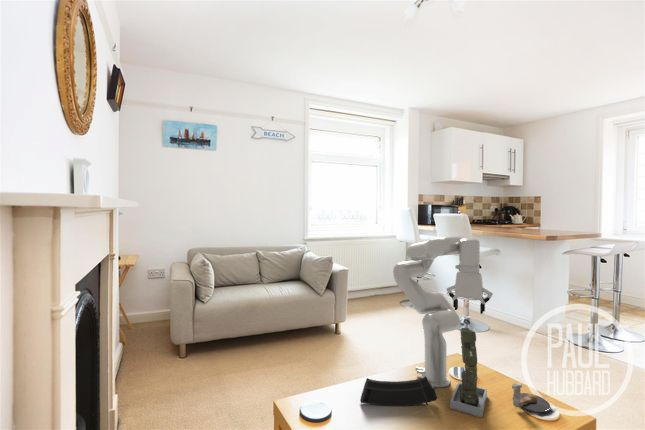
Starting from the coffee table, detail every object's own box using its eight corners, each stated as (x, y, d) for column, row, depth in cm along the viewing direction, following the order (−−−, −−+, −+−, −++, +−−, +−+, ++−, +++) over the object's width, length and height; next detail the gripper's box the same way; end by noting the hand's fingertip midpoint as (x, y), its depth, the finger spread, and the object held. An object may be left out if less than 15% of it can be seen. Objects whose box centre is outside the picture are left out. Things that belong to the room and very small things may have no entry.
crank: (530, 396, 142) (531, 376, 142) (539, 401, 139) (539, 381, 139) (509, 404, 137) (509, 383, 137) (517, 409, 134) (517, 388, 134)
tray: (450, 408, 138) (450, 400, 138) (457, 389, 152) (457, 382, 152) (482, 417, 132) (482, 409, 132) (487, 396, 146) (487, 389, 146)
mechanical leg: (483, 413, 132) (479, 331, 138) (463, 411, 134) (460, 329, 140) (476, 402, 145) (472, 327, 151) (457, 400, 147) (455, 326, 153)
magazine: (354, 384, 140) (426, 363, 139) (354, 380, 143) (424, 359, 142) (367, 424, 140) (439, 403, 140) (366, 419, 144) (436, 398, 143)
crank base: (514, 408, 138) (514, 404, 138) (515, 393, 148) (515, 390, 148) (550, 417, 132) (550, 413, 132) (549, 401, 142) (549, 397, 142)
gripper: (444, 268, 142) (444, 310, 142) (491, 272, 133) (491, 317, 134) (448, 265, 148) (448, 305, 149) (493, 269, 139) (493, 311, 140)
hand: (468, 311), depth 141 cm, fingers open, 9 cm apart
